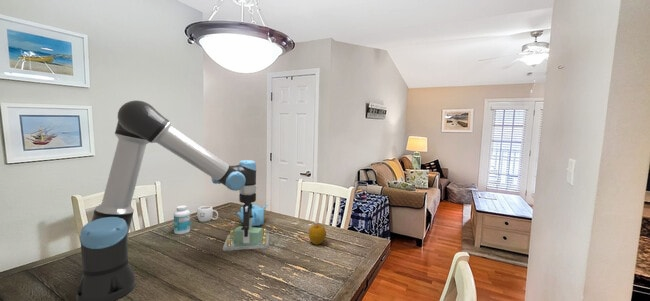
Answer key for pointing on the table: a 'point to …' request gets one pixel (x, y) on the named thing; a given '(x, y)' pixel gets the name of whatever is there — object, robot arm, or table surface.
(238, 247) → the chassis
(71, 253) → the table surface
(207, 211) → the mug
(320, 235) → the apple
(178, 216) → the pill bottle
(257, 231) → the pale green block
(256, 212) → the teapot
